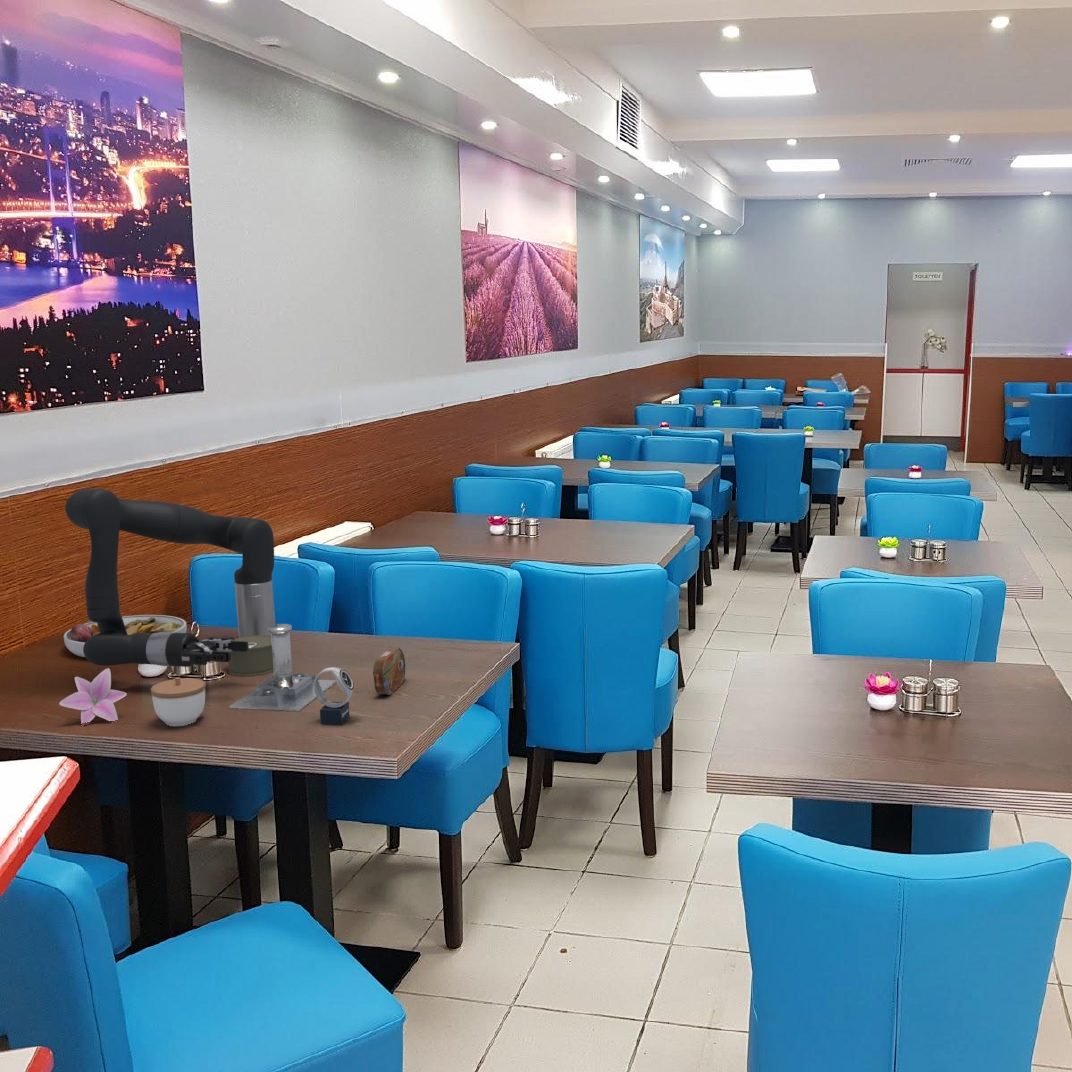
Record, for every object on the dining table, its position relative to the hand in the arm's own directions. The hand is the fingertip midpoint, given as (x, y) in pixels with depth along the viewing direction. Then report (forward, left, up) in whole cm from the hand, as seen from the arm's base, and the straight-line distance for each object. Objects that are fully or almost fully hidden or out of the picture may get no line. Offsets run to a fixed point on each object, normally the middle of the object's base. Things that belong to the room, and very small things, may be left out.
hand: (239, 651), depth 259 cm
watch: (+15, +28, -10) cm, 33 cm away
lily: (+22, -22, -10) cm, 33 cm away
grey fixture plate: (0, +10, -9) cm, 14 cm away
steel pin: (0, +10, -9) cm, 14 cm away
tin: (-7, +32, -10) cm, 34 cm away
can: (-18, -6, -10) cm, 21 cm away
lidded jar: (+20, -4, -10) cm, 23 cm away
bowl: (-34, -49, -10) cm, 60 cm away
